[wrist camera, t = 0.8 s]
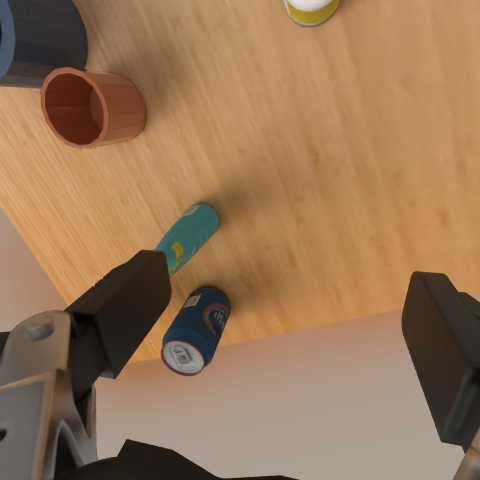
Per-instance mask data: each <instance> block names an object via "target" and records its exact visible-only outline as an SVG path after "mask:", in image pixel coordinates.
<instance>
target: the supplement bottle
mask: <svg viewBox="0 0 480 480" xmlns="http://www.w3.org/2000/svg"><path fill="white" fill-rule="evenodd" d="M284 2H285V6H286V10H287V12H288V15H289V17H290V18H291V19H292V21H293V22H294V23H296V24H297V25H299V26H301V27H304V28H315V27H318V26H320V25H322V24H324V23H325V22H326V21H327V20H329V19H330V18H331V16H332V15H333V14H334V12H335V11H336V9H337V7H338V5H339V2H340V0H284Z"/></svg>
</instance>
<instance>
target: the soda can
mask: <svg viewBox="0 0 480 480" xmlns="http://www.w3.org/2000/svg"><path fill="white" fill-rule="evenodd" d="M229 315H230V306H229V303H228V301H227V299H226V297H225V296H224V294H223V293H221V292H220V291H219V290H217V289H214V288H209V287H207V288H200V289H197V290H195V291H193V292H192V293H191V294H190V296H189V297H188V299H187V300H186V302H185V303H184V305H183V307H182V308H181V310H180V311H179V313H178V315H177V316H176V318H175V319H174V321H173V322H172V324H171V326H170V327H169V329H168V330H167V332H166V334H165V335H164V337H163V342H162V350H161V357H162V360H163V362H164V364H165V365H166V366H167V367H168V368H169V369H170V370H172V371H173V372H175V373H177V374H180V375H183V376H194V375H197V374H199V373H200V372H201V371H202V370H203V368H204V367H206V366H207V365H208V364H209V363H210V362H211V361H212V358H213V356H214V353H215V351H216V348H217V346H218V343H219V340H220V338H221V335H222V333H223V330H224V328H225V325H226V323H227V320H228V317H229Z"/></svg>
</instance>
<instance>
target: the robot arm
mask: <svg viewBox="0 0 480 480" xmlns="http://www.w3.org/2000/svg"><path fill="white" fill-rule="evenodd" d="M171 293H172V289H171V282H170V276H169V270H168V264H167V258H166V255H165V253H164V252H163V251H153V250H141V251H139V252H138V253H137V254H136V255H135V256H134V257H132V258H131V259H130V260H129V261H128V262H126V263H124V264H122V265H120V266H118V267H116V268H114V269H112V270H111V271H110V272H109V273H108V274H107V275H105V276H104V277H103V279H101V280H99V281H98V282H97V283H96V284H95V286H92V287H91V288H90V289H89V290H88V291H86V292H85V293H84V294H83V295H82V296H81V297H79V298H78V299H77V300H76V301H75V302H74V303H72V304H71V305H70V306H69V307H68V308H66V309H65V310H64V311H61V310H52V311H46V312H43V313H39V314H36V315H34V316H32V317H29V318H28V319H26V320H24V321H23V322H21V323H20V324H18V325H17V326H16V327H15V328H14V329H13V330H12V331H9V332H0V480H298V479H293V478H289V477H285V476H280V475H278V476H260V477H244V478H226V479H225V478H219V477H216V476H214V475H213V474H211V473H209V472H208V471H206V470H205V469H203V468H201V467H200V466H198V465H196V464H195V463H193V462H192V461H190V460H188V459H187V458H185V457H183V456H182V455H180V454H179V453H177V452H175V451H174V450H171V449H167V448H162V447H158V446H154V445H149V444H146V443H141V442H137V441H133V440H129V439H126V441H125V443H124V445H123V447H122V448H121V450H120V452H119V454H118V456H117V457H111V458H106V459H101V460H98V456H97V448H96V447H97V446H96V389H95V386H94V382H95V381H96V380H97V378H98V377H99V376H101V377H106V378H112V379H116V377H117V376H118V375H119V373H120V372H121V370H122V369H123V367H124V366H125V365H126V363H127V362H128V361H129V359H130V358H131V356H132V355H133V354H134V352H135V351H136V349H137V348H138V347H139V345H140V344H141V342H142V341H143V340H144V338H145V337H146V335H147V334H148V333H149V331H150V330H151V328H152V327H153V326H154V324H155V323H156V321H157V320H158V319H159V317H160V316H161V314H162V313H163V312H164V310H165V309H166V307H167V306H168V304H169V302H170V299H171ZM402 331H403V336H404V338H405V341H406V344H407V347H408V350H409V353H410V355H411V358H412V361H413V364H414V367H415V370H416V372H417V375H418V378H419V381H420V384H421V386H422V389H423V392H424V395H425V398H426V401H427V404H428V406H429V409H430V412H431V415H432V418H433V420H434V423H435V426H436V429H437V432H438V434H439V437H440V440H441V442H444V443H449V444H454V445H459V446H462V448H463V450H464V453H465V456H464V458H463V460H462V462H461V464H460V466H459V468H458V470H457V472H456V474H455V476H454V478H453V480H480V302H478V301H477V300H476V299H474V298H473V297H471V296H470V295H468V294H467V293H465V292H458V291H457V290H456V288H455V287H454V285H453V284H452V283H451V281H450V280H449V278H448V277H447V276H446V275H445V274H443V273H431V272H418V271H415V272H413V274H412V276H411V279H410V283H409V287H408V291H407V296H406V300H405V304H404V308H403V313H402Z"/></svg>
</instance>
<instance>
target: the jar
mask: <svg viewBox="0 0 480 480" xmlns="http://www.w3.org/2000/svg"><path fill="white" fill-rule="evenodd" d="M86 59H87V37H86V32H85V28H84V25H83V22H82V19H81V17H80V14H79V12H78V11H77V9H76V7H75V5H74V4H73V2H72V1H71V0H0V86H4V87H24V88H42V86H43V83H44V80H45V78H46V77H47V76H48V75H49V74H50V73H51V72H52V71H54V70H55V69H58V68H64V67H73V68H80V69H84V66H85V63H86Z"/></svg>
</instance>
